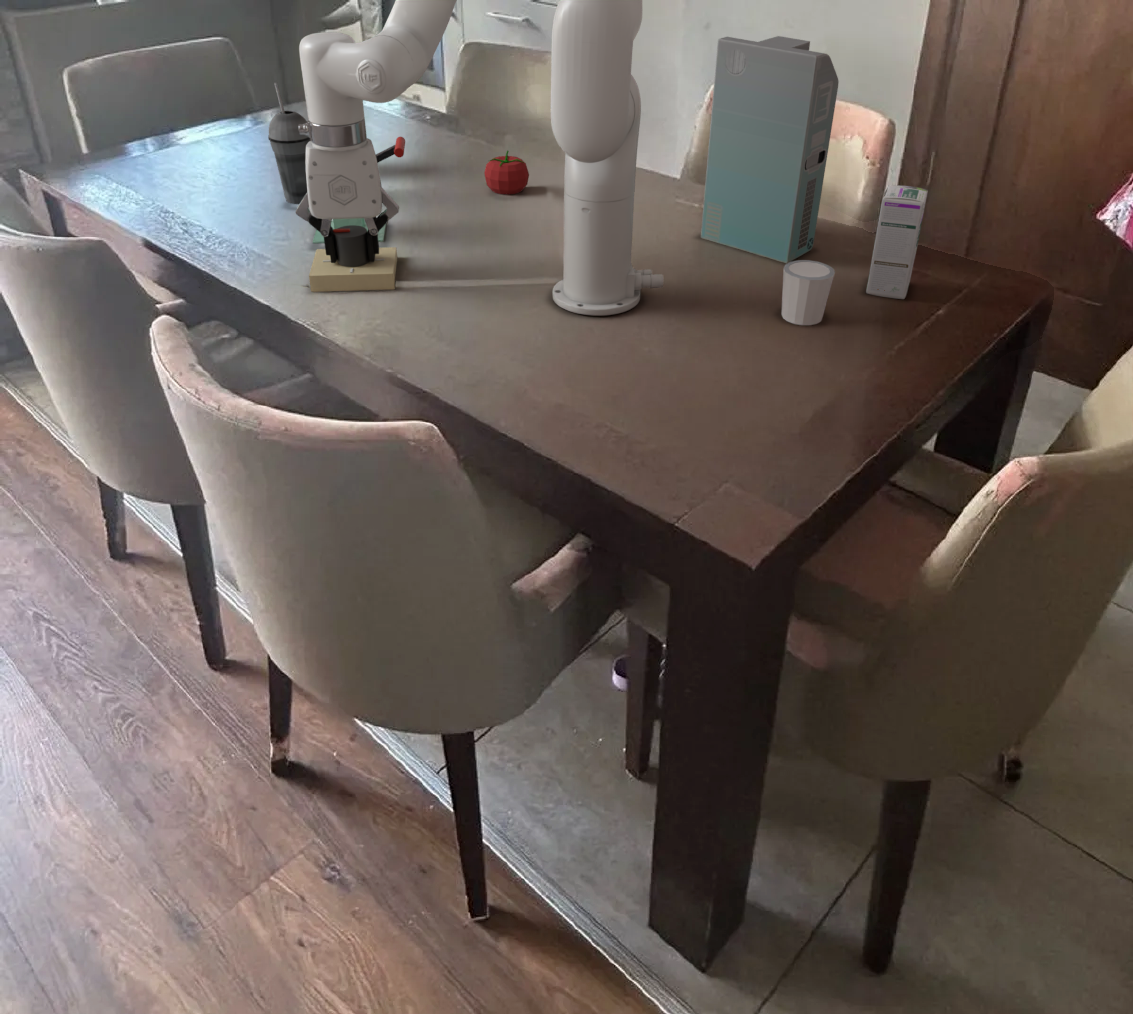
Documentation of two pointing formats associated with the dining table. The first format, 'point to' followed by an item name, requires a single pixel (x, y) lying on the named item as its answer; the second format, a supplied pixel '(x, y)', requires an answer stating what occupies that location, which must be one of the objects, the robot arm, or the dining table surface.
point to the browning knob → (351, 245)
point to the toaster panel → (354, 273)
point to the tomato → (506, 174)
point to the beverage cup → (289, 151)
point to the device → (768, 145)
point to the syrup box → (896, 241)
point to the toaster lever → (393, 150)
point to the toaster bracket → (346, 222)
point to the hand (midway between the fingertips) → (353, 257)
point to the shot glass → (805, 291)
